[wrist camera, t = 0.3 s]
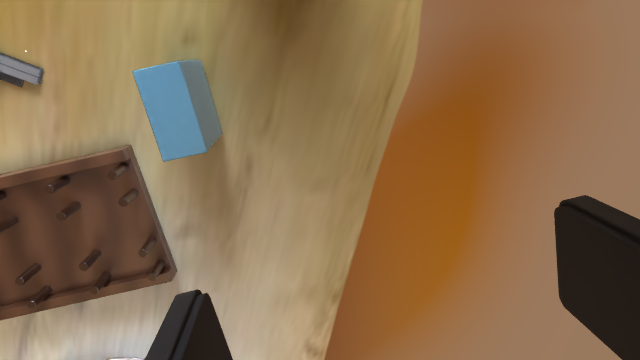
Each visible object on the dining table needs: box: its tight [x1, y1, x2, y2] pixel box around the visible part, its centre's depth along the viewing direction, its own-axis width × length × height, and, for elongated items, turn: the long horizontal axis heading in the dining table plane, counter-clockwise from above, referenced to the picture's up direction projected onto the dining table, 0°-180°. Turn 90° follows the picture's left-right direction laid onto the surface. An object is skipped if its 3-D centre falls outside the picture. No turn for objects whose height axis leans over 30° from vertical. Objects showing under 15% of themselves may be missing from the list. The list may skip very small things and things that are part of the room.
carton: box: [132, 60, 223, 162], centre depth 39 cm, size 8×4×9 cm, turn 12°
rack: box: [0, 145, 177, 320], centre depth 44 cm, size 22×16×4 cm
